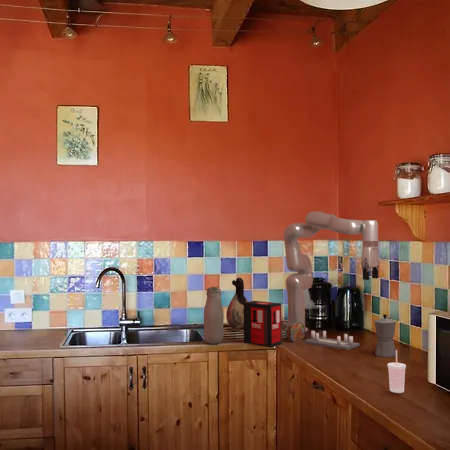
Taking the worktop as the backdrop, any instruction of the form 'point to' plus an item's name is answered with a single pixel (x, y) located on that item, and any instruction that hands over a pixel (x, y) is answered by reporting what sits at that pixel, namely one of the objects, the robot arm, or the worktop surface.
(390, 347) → the coffeepot
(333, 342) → the pin board
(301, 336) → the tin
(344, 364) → the worktop surface
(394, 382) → the beverage cup
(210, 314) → the grey brown bottle
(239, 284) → the ceramic jug
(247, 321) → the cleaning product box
